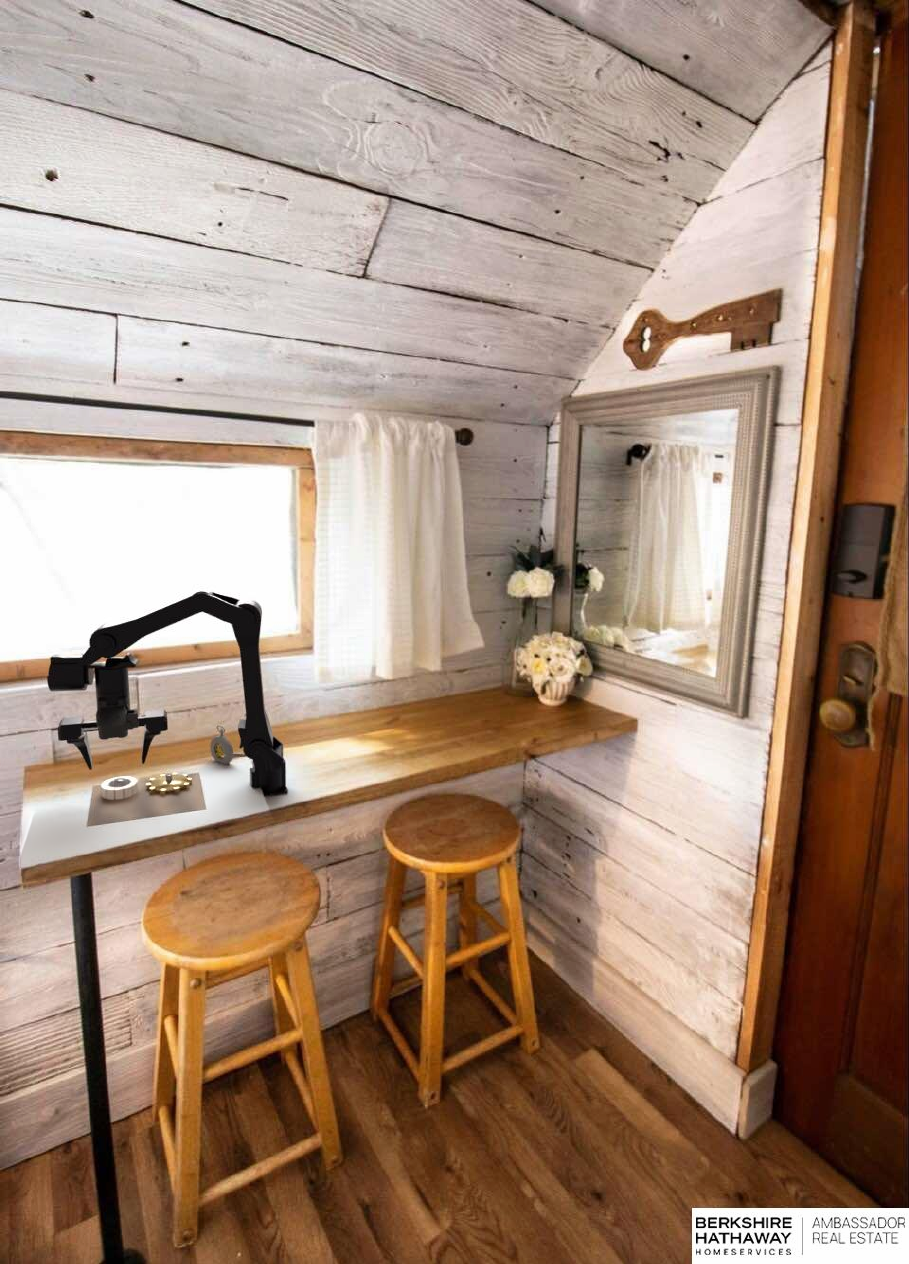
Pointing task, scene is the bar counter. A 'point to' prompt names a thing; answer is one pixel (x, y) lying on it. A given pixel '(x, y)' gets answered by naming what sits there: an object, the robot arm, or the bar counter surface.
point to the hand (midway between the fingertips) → (117, 766)
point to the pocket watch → (223, 749)
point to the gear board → (145, 803)
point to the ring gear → (119, 788)
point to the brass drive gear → (168, 783)
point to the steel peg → (119, 782)
